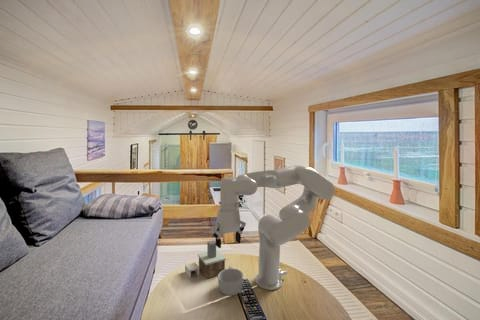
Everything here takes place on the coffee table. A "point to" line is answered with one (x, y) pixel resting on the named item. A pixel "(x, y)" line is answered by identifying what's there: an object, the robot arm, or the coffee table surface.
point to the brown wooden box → (211, 268)
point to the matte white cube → (191, 268)
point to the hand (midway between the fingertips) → (228, 244)
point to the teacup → (230, 281)
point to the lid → (211, 254)
